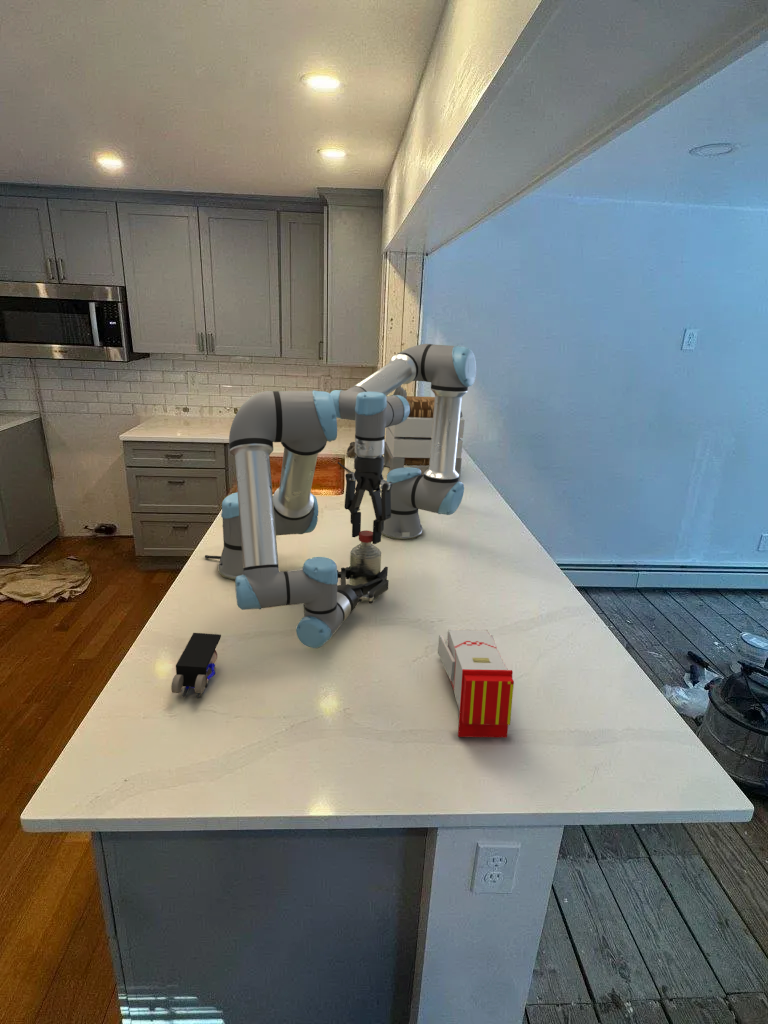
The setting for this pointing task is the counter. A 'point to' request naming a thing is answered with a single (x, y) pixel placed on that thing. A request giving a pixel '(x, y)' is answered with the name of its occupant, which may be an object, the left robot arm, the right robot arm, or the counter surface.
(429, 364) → the right robot arm
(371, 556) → the bottle
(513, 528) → the counter surface
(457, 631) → the toy
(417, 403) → the white slatted box
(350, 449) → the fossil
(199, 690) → the black toy vehicle
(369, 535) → the cap
